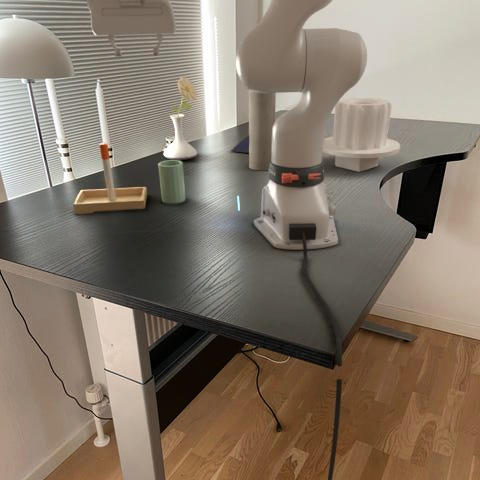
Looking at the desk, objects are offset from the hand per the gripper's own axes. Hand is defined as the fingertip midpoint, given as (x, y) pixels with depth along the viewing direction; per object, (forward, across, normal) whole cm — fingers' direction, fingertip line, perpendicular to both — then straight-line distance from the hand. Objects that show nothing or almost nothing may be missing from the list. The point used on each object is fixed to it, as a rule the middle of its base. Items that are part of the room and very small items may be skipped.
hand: (137, 56), depth 120 cm
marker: (+32, -10, -14) cm, 36 cm away
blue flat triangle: (+33, +44, +42) cm, 69 cm away
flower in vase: (+33, +9, +31) cm, 46 cm away
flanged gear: (+33, +64, +11) cm, 73 cm away
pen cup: (+33, +6, -14) cm, 36 cm away
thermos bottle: (+33, +34, +15) cm, 50 cm away
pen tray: (+33, -10, -14) cm, 37 cm away
